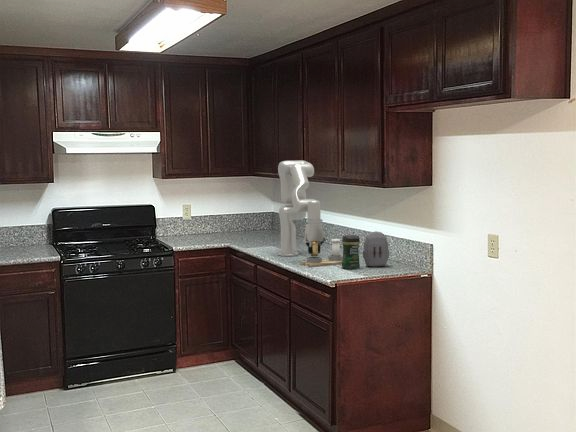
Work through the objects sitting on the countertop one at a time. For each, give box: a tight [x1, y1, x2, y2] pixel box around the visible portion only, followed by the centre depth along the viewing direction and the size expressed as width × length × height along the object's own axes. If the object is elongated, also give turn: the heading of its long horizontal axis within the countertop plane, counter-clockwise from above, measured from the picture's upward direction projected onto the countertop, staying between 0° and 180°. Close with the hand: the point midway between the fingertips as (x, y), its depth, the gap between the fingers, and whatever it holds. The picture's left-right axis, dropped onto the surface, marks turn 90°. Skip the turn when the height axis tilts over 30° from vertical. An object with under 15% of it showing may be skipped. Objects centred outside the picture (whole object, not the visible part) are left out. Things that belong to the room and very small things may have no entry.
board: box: [299, 258, 342, 268], centre depth 376 cm, size 14×24×2 cm, turn 113°
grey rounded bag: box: [362, 231, 390, 268], centre depth 363 cm, size 15×8×20 cm, turn 92°
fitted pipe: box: [327, 238, 343, 261], centre depth 378 cm, size 8×8×12 cm
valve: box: [310, 241, 319, 257], centre depth 372 cm, size 6×5×9 cm
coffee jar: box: [341, 234, 361, 270], centre depth 359 cm, size 10×8×19 cm
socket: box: [306, 256, 323, 263], centre depth 373 cm, size 8×8×2 cm
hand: (314, 253), depth 373 cm, fingers closed on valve, 4 cm apart
